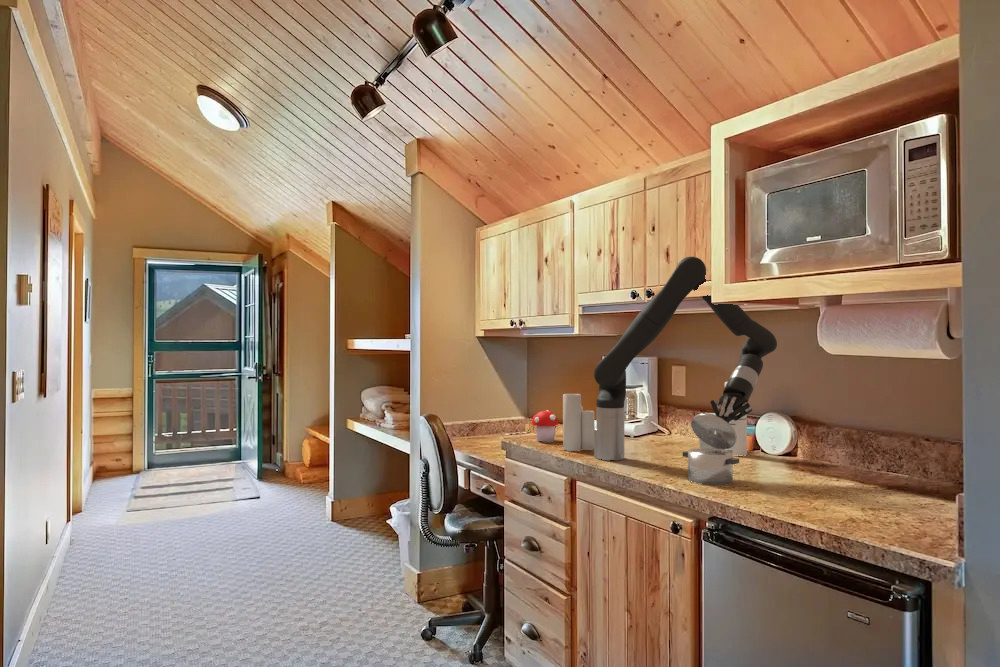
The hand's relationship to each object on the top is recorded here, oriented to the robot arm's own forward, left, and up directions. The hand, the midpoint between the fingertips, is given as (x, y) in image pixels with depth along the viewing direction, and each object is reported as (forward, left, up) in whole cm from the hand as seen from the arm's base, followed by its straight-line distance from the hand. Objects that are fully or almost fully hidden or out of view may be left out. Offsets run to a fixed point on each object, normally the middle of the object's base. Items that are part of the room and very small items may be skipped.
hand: (719, 428), depth 186 cm
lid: (0, -4, -1) cm, 4 cm away
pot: (0, -5, -14) cm, 15 cm away
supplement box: (-28, +43, -14) cm, 53 cm away
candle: (-59, +5, -14) cm, 61 cm away
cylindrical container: (-16, +38, -14) cm, 43 cm away
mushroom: (-81, +10, -14) cm, 83 cm away
